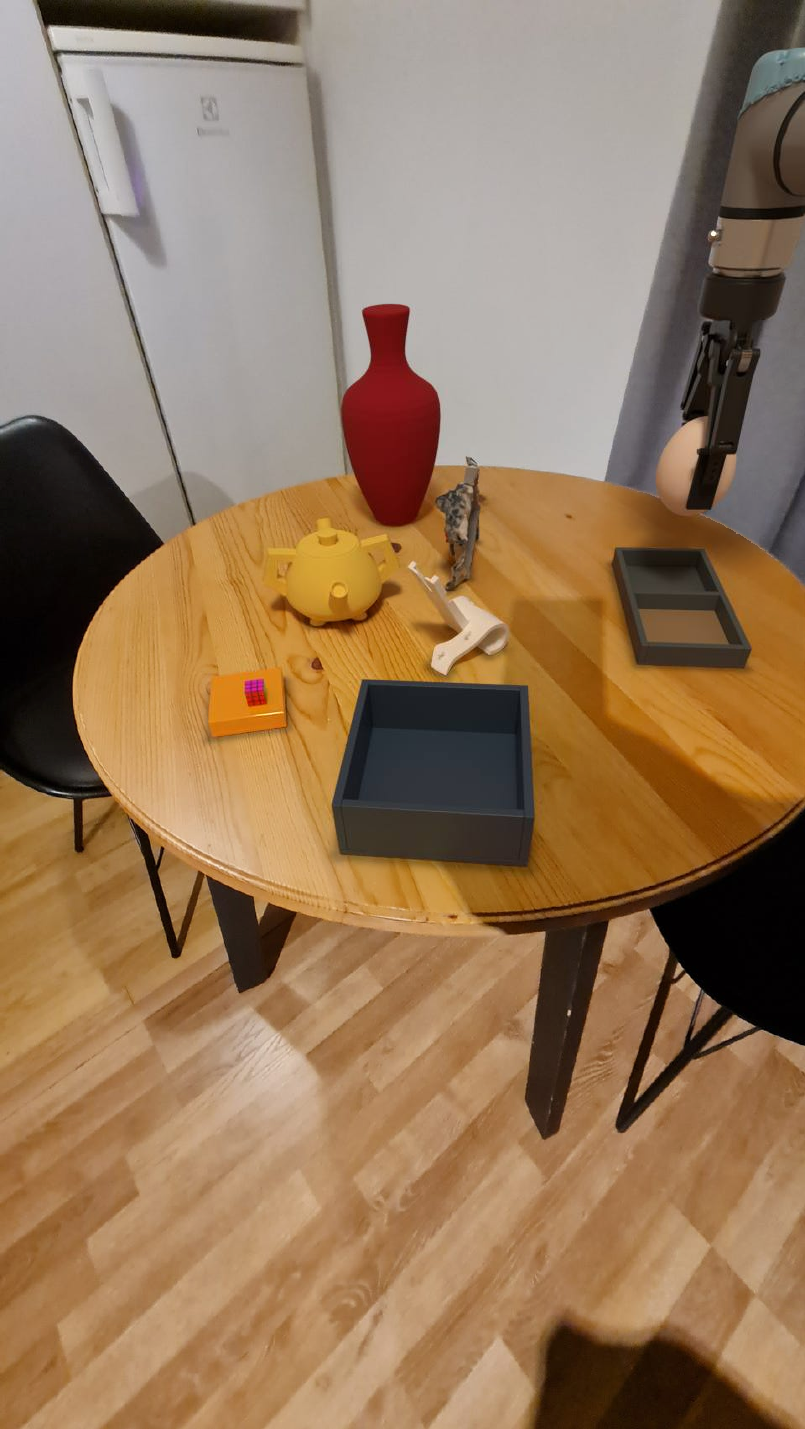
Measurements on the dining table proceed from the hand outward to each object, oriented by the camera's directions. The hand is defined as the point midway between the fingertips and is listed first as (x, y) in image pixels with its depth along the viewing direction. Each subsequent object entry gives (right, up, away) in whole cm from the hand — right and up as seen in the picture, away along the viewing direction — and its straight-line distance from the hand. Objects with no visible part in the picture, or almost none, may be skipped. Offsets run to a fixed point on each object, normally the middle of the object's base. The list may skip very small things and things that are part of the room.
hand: (689, 491), depth 80 cm
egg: (0, -2, +2) cm, 3 cm away
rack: (0, -14, +5) cm, 15 cm away
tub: (-31, -35, -16) cm, 49 cm away
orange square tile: (-52, -27, -6) cm, 59 cm away
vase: (-36, +5, +28) cm, 46 cm away
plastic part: (-28, -19, +1) cm, 34 cm away
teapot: (-44, -13, +9) cm, 47 cm away
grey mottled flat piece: (-27, -5, +16) cm, 32 cm away
